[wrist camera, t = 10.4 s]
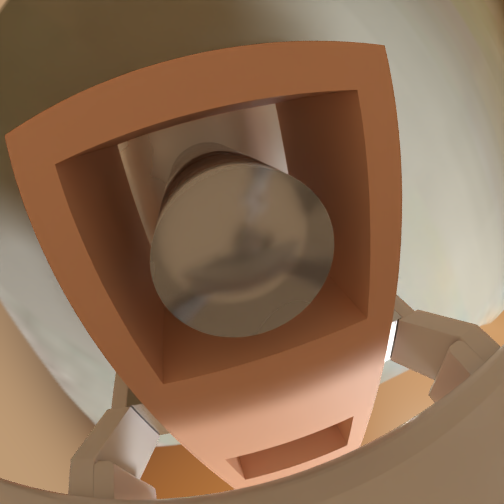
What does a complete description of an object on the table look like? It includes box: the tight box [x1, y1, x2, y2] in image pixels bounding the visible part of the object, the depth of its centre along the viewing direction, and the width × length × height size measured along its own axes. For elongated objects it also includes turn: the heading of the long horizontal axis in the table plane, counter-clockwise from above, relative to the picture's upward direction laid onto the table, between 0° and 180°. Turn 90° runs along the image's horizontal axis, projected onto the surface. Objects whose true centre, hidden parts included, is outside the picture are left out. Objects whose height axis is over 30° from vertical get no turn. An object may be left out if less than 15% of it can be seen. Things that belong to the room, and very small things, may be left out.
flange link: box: [5, 41, 402, 489], centre depth 8 cm, size 15×6×4 cm, turn 12°
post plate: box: [118, 104, 334, 338], centre depth 9 cm, size 16×10×8 cm, turn 12°
